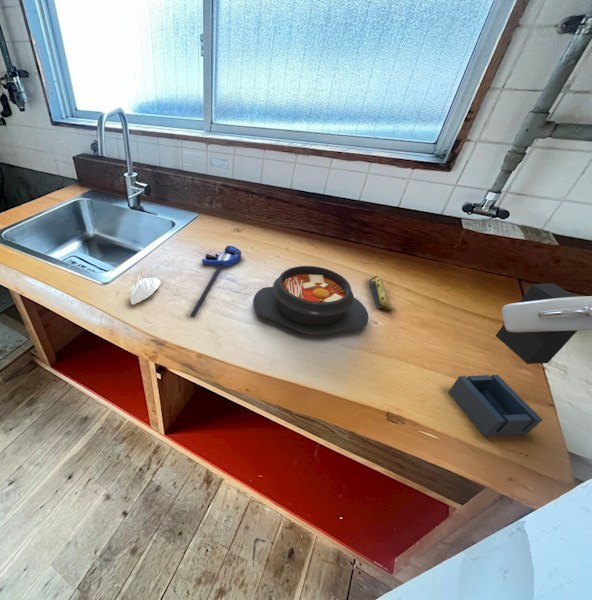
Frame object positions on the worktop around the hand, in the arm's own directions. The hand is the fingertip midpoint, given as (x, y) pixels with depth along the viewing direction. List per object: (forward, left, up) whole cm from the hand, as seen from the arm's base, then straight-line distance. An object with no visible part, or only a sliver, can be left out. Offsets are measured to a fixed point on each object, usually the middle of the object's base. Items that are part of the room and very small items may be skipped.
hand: (538, 319), depth 46 cm
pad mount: (-1, +5, -16) cm, 17 cm away
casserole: (+33, +2, -16) cm, 37 cm away
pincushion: (+67, +23, -16) cm, 72 cm away
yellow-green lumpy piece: (+24, -16, -16) cm, 33 cm away
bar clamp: (+59, +7, -16) cm, 61 cm away
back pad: (0, 0, -5) cm, 5 cm away
